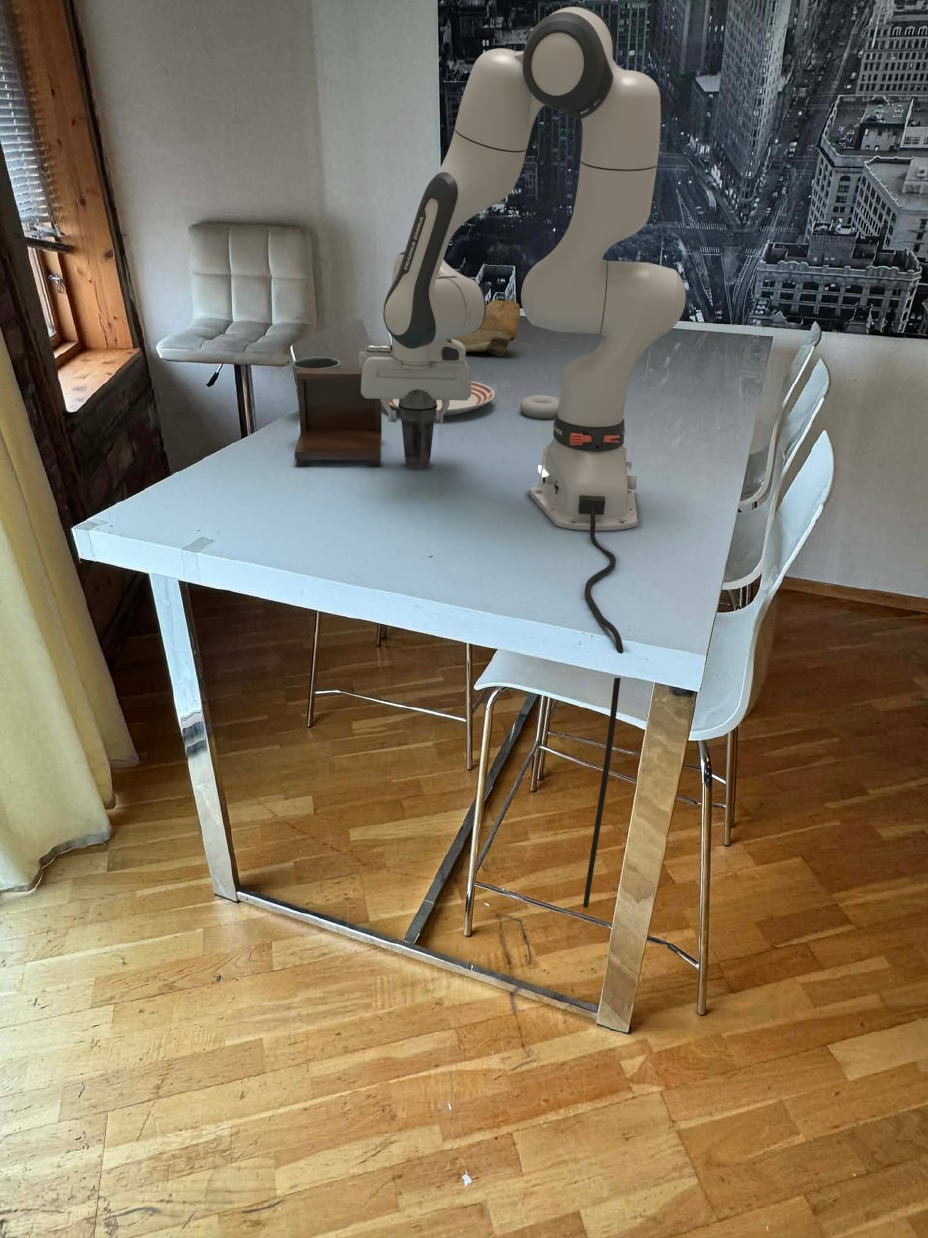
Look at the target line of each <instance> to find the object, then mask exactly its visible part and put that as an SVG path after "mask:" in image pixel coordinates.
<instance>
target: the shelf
mask: <svg viewBox="0 0 928 1238" xmlns="http://www.w3.org/2000/svg"><path fill="white" fill-rule="evenodd" d="M296 377H297V386H296V389H297V388H298V396H297V401H298V415H299V428H300V433H299V436H298V440H297V443H296V446H295V449H294V460H296V461H295V462H296V467H302V468H303V467H306V465H307V460H338V461H339V460H342V461H346V460H347V461H350V460H354V461H355V460H357V461H359V460H360V461H361V460H364V461H365V460H369V461H371V462H370V467H371V468H380V467H381V459H382V440H383V425H382V423H383V421H382V402H381V399H369V398H364V397H363V395H362V394H361V378H362V369H361V368H340V369H316V368H298V370H297V373H296Z"/></svg>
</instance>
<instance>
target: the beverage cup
mask: <svg viewBox="0 0 928 1238" xmlns="http://www.w3.org/2000/svg"><path fill="white" fill-rule="evenodd" d="M398 406H399V409H398V410H399V411H398V412H399V416H400V420H401V429H402V430H401V431H402V440H403V453H404V462H405V467H407V468H408V469H412V470H425V469H428V468H429V467H430V461H431V457H432V448H433V447H432V446H433V438H434V437H433V436H434V435H433V434H434V428H435V427H434V426H435V414H436V408H437V401H436V400H433V399H432V397H431V396H430V395H429V394H428V393H427V392H425V391H423V390H413V391H411V392H409V393H408V394H407V395H406V396H405V397H404V398H403V399H399V404H398Z"/></svg>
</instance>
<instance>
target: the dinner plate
mask: <svg viewBox="0 0 928 1238" xmlns="http://www.w3.org/2000/svg"><path fill="white" fill-rule="evenodd" d="M495 396H496V392H495V391H494V389H493V388H492V387H490V386H489V385H486V384H484V383H481V382H477V381H473V380H471V396H470V397H469V399H468V400H466V401H461V400H450V402H449V407H448V409H447V410H446V412H445V413H444V415H443V417H449V416H457V415H461V414H464V413H468V412H469V411H474V410H476V409H478V408H481V407H483V406H485V405H487V404H489V403H490V402H491V401H493V399H494V398H495ZM436 401H437V408H436V412H439V411H440V409H441V408H442V400H436ZM381 403H382V399H381ZM398 404H399V399H390V404H389V406H390V408H391V407H392V408H394V409H396V410H399V406H398Z"/></svg>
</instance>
